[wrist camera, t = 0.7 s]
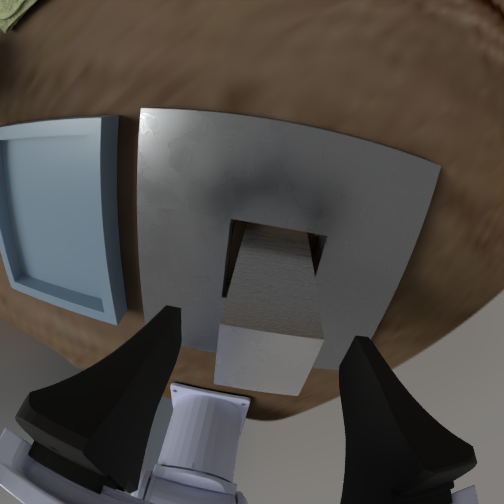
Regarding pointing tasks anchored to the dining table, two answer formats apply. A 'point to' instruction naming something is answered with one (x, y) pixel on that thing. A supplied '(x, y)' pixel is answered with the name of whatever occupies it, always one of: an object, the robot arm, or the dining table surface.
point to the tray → (63, 213)
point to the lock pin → (270, 314)
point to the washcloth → (12, 12)
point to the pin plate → (273, 215)
